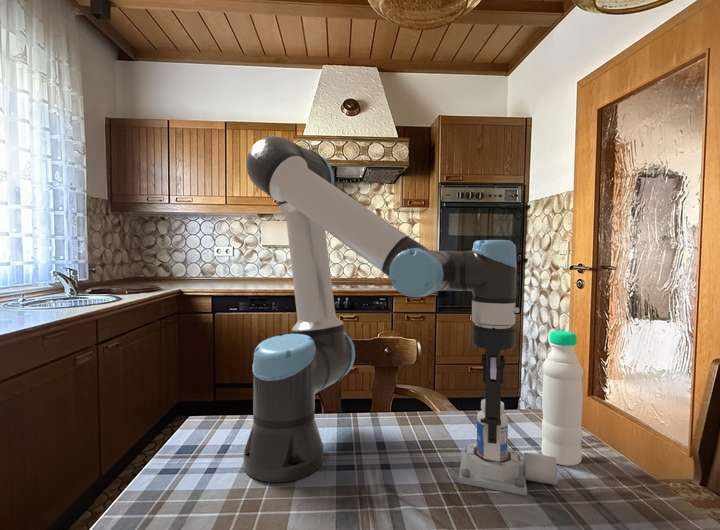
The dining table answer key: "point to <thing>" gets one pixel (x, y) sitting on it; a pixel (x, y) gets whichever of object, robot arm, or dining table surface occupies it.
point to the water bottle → (562, 401)
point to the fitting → (506, 470)
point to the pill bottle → (502, 432)
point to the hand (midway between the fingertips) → (491, 450)
